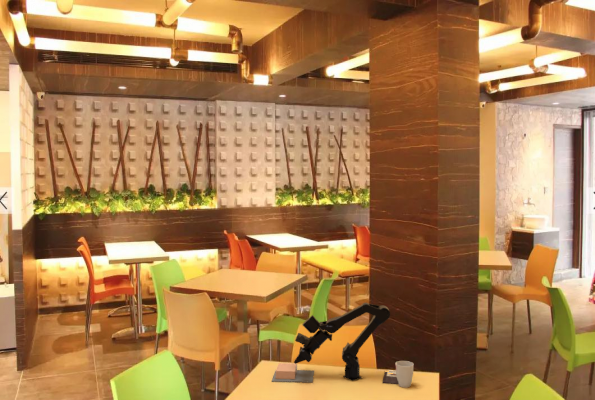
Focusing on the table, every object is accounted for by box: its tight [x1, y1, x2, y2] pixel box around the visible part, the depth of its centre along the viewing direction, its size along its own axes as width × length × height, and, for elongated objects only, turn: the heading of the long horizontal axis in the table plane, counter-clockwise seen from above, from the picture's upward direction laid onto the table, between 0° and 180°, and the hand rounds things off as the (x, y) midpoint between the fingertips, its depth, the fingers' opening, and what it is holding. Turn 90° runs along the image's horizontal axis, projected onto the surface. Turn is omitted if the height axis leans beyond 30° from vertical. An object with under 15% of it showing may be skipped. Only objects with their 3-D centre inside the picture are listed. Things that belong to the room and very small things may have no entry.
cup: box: [395, 360, 414, 388], centre depth 247 cm, size 8×8×10 cm
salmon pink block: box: [275, 362, 298, 379], centre depth 260 cm, size 4×12×9 cm
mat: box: [271, 369, 315, 384], centre depth 260 cm, size 19×16×1 cm
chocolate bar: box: [382, 369, 399, 385], centre depth 258 cm, size 9×1×18 cm
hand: (294, 362), depth 260 cm, fingers closed
